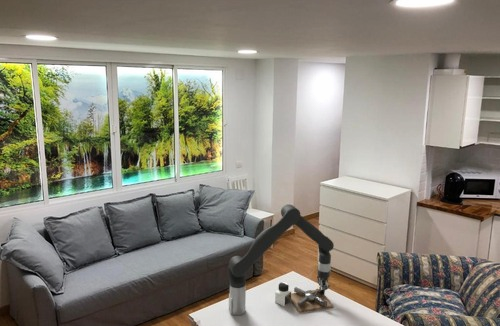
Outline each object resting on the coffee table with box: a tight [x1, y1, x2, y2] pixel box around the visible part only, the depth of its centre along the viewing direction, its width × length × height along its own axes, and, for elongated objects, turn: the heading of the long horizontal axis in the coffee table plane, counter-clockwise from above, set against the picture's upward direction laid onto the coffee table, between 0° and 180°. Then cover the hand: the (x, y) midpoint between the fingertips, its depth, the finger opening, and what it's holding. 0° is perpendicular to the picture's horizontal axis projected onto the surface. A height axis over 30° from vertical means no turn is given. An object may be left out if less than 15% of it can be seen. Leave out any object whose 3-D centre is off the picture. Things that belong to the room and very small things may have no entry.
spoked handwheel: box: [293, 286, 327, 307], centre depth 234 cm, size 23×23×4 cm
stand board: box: [290, 289, 334, 314], centre depth 234 cm, size 22×18×2 cm
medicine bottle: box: [274, 281, 292, 307], centre depth 233 cm, size 7×7×12 cm
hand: (322, 294), depth 238 cm, fingers closed
